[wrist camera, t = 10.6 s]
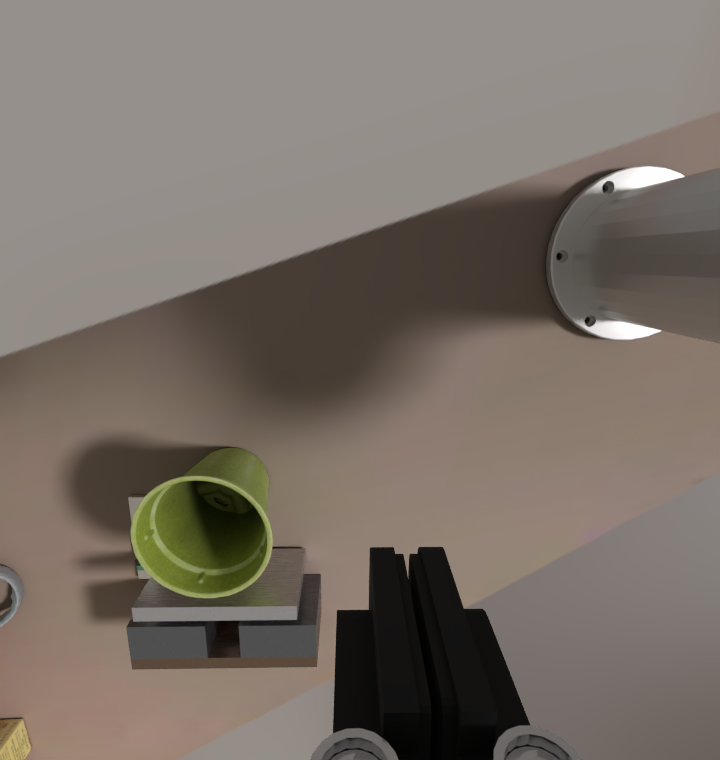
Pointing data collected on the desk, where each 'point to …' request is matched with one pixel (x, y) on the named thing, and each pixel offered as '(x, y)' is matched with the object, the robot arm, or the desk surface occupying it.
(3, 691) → the desk surface
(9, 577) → the ceramic mug
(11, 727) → the candy box
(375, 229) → the desk surface
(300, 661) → the grey slotted box
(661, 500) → the desk surface
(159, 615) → the grey flat bar
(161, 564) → the plant pot
